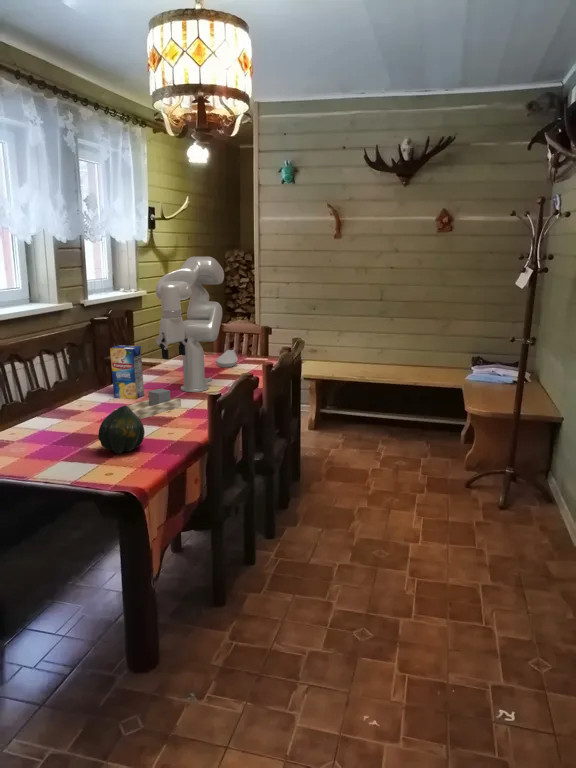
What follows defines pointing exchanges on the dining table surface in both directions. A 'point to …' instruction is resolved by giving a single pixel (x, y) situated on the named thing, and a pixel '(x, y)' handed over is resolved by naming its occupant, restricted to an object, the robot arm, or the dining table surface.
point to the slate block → (158, 396)
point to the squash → (121, 431)
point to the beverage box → (127, 372)
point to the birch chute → (153, 408)
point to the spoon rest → (227, 359)
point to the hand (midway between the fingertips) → (173, 356)
